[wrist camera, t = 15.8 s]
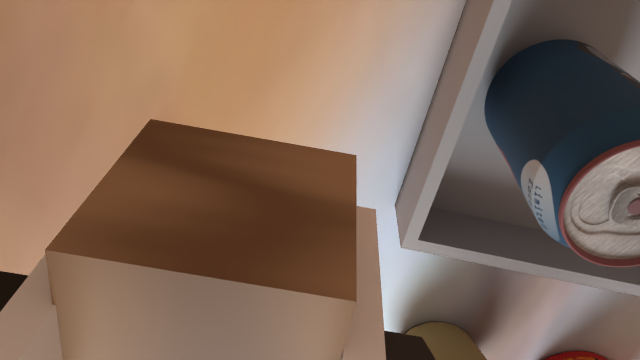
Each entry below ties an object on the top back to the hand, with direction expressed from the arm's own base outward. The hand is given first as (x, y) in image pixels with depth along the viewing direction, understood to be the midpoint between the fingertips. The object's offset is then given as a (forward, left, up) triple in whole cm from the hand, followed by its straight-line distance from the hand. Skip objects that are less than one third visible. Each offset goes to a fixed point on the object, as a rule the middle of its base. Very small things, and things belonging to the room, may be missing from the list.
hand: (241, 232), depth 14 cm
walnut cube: (0, 0, 0) cm, 0 cm away
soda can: (+14, 0, -18) cm, 23 cm away
